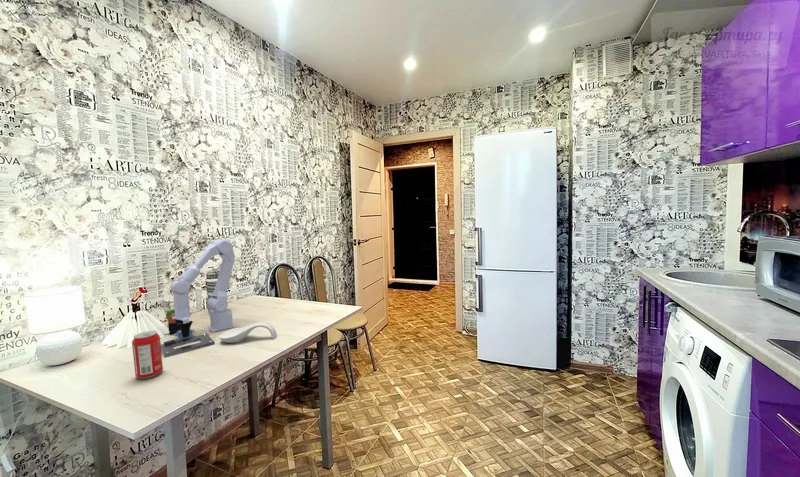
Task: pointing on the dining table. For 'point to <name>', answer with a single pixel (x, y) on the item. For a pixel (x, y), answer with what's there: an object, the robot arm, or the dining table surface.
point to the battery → (172, 324)
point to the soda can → (147, 354)
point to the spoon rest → (244, 332)
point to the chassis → (169, 350)
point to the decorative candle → (211, 282)
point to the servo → (180, 337)
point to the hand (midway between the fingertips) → (184, 335)
